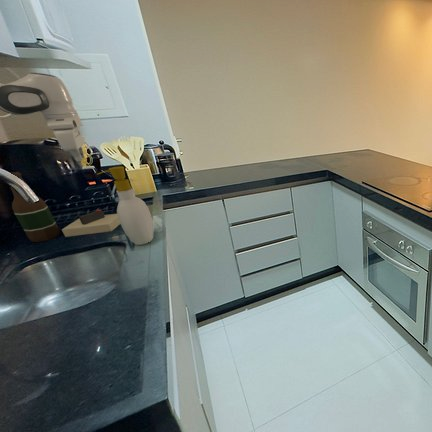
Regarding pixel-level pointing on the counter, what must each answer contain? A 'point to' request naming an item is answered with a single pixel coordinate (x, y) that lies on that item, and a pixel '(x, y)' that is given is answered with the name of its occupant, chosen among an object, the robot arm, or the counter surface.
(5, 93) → the robot arm
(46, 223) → the beer bottle
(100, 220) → the beige flat block
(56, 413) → the counter surface
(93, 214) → the dark brown bar
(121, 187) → the soap bottle
